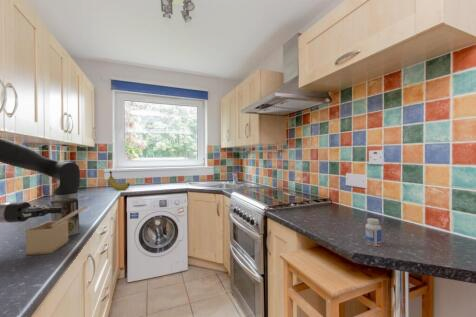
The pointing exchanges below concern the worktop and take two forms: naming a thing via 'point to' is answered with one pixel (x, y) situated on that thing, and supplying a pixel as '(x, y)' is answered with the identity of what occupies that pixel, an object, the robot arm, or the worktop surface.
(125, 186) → the banana
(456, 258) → the worktop surface
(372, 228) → the pill bottle
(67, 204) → the coffee box
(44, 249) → the carton
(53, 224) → the carton flap
